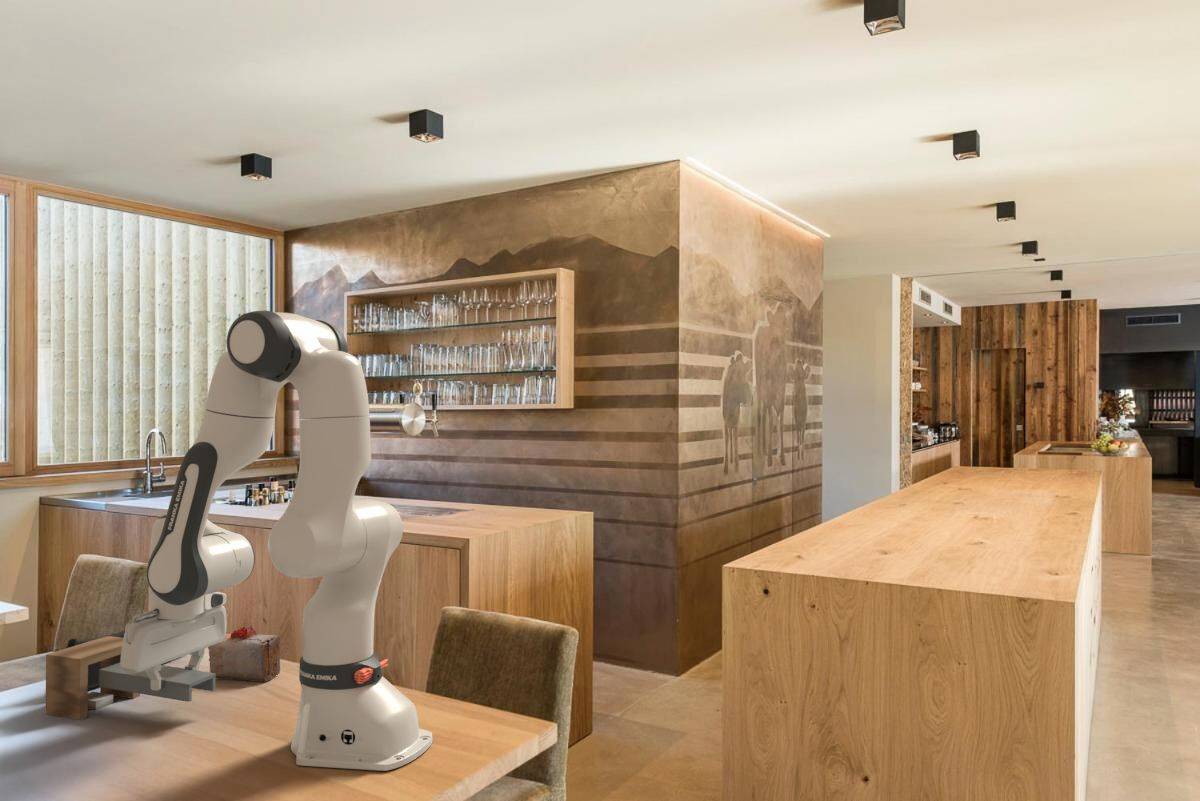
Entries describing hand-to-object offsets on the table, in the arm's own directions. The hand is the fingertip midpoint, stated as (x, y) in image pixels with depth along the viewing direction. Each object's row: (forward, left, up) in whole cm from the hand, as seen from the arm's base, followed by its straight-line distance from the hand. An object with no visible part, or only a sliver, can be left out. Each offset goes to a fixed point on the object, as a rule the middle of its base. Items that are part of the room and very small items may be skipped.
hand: (175, 682), depth 146 cm
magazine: (+27, -15, -7) cm, 31 cm away
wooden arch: (+18, 0, -6) cm, 20 cm away
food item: (+4, -22, -7) cm, 23 cm away
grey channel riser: (+4, 0, -2) cm, 4 cm away
